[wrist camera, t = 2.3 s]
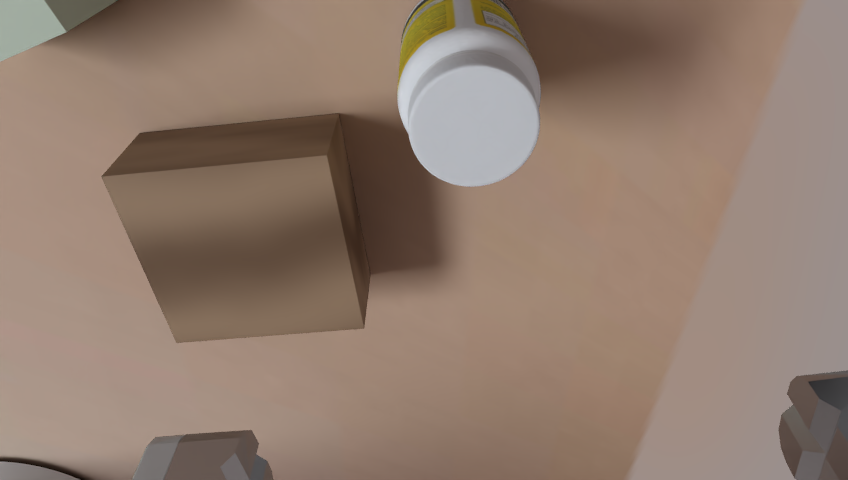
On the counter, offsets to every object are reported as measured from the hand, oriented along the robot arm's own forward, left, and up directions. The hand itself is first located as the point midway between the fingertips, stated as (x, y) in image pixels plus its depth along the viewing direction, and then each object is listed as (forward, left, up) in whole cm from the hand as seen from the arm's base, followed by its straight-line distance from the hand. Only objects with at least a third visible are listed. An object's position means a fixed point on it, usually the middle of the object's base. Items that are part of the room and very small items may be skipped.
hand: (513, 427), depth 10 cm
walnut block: (-7, +10, -19) cm, 23 cm away
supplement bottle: (0, 0, -20) cm, 20 cm away
